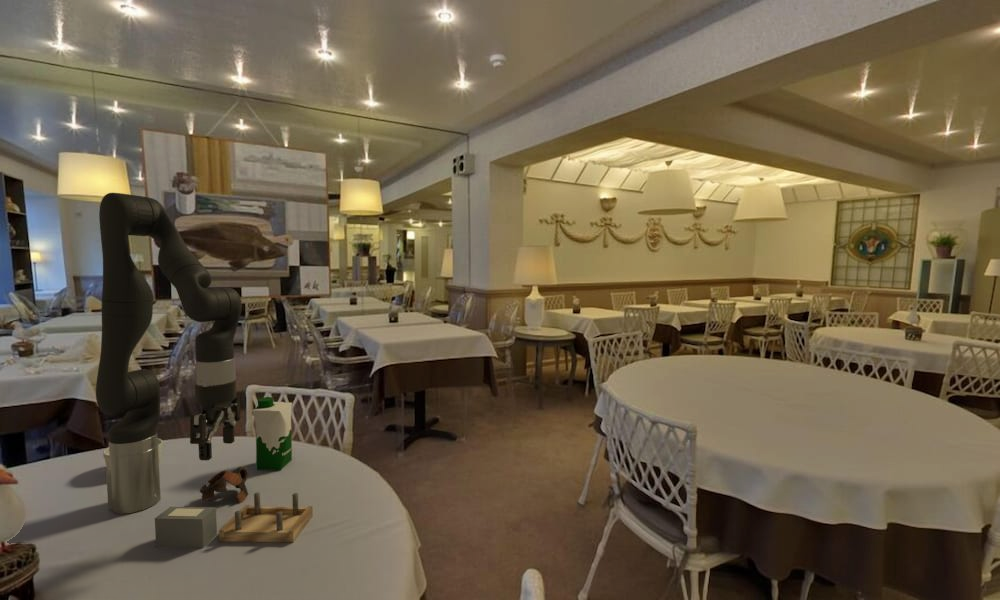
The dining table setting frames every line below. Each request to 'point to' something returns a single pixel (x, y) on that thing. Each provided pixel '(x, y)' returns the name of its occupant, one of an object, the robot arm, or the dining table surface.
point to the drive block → (186, 527)
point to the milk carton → (273, 434)
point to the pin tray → (266, 523)
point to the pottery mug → (220, 483)
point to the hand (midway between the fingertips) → (217, 450)
